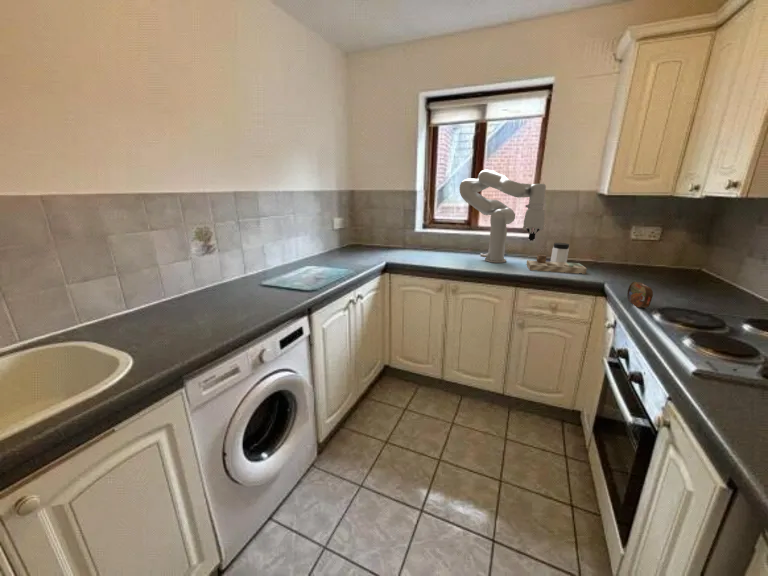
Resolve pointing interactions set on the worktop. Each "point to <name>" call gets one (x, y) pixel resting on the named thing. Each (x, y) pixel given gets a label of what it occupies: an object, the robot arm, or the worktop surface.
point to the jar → (560, 252)
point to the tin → (639, 294)
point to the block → (541, 258)
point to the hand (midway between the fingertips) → (531, 240)
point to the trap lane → (556, 267)
